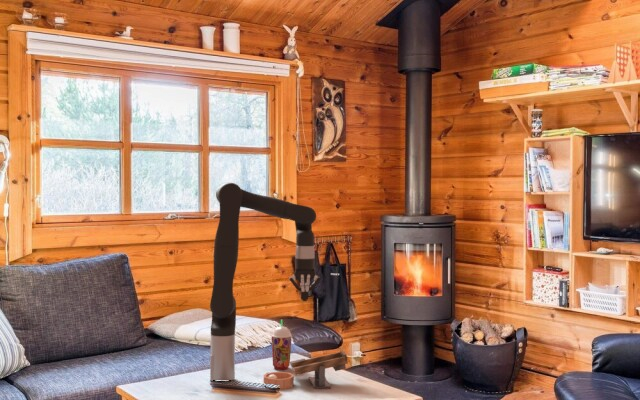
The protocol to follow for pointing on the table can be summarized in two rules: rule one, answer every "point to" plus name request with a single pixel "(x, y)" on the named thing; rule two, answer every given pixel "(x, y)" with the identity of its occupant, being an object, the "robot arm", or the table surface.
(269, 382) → the orange bowl
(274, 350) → the smoothie
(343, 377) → the table surface
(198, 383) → the table surface
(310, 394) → the table surface
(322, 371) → the stand
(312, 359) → the lever
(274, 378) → the ball
